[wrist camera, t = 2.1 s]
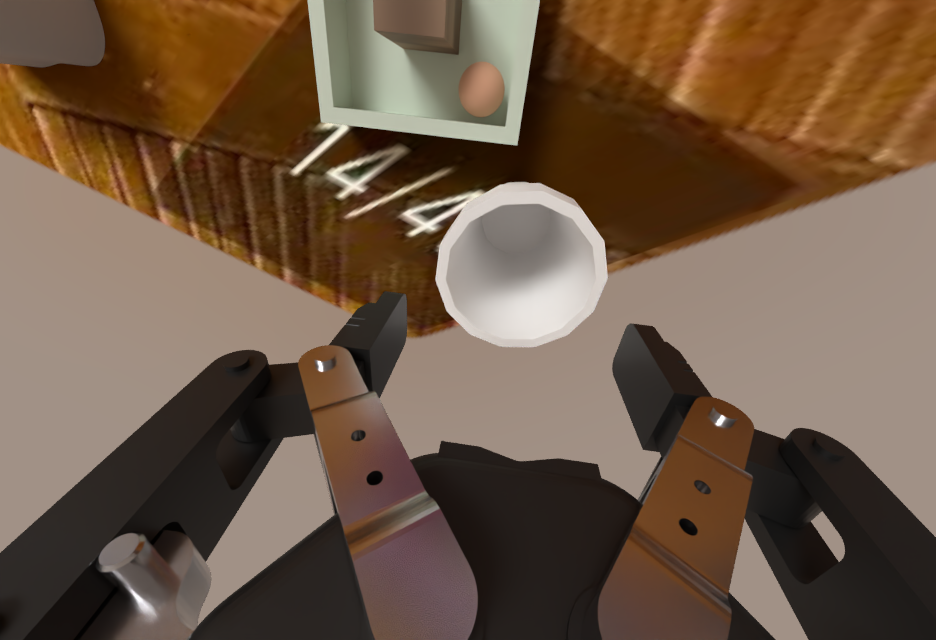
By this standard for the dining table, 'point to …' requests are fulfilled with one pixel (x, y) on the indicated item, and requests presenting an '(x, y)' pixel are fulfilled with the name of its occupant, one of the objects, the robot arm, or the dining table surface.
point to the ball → (481, 89)
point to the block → (420, 24)
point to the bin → (420, 70)
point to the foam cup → (521, 266)
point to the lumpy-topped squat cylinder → (50, 33)
